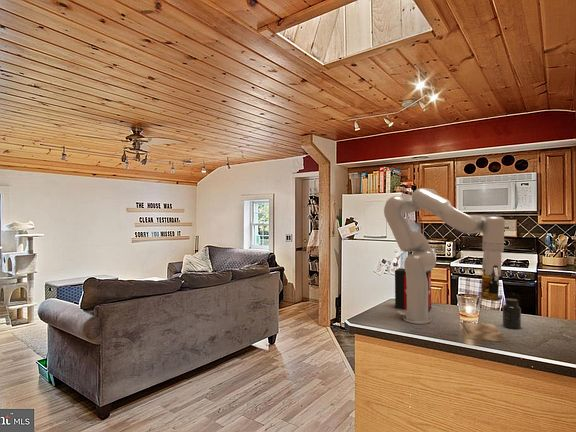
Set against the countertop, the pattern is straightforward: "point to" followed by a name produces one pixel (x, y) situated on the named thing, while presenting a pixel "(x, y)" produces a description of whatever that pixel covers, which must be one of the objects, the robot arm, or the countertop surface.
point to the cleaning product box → (402, 289)
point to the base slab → (482, 331)
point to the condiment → (485, 289)
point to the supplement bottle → (511, 314)
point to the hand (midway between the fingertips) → (491, 291)
